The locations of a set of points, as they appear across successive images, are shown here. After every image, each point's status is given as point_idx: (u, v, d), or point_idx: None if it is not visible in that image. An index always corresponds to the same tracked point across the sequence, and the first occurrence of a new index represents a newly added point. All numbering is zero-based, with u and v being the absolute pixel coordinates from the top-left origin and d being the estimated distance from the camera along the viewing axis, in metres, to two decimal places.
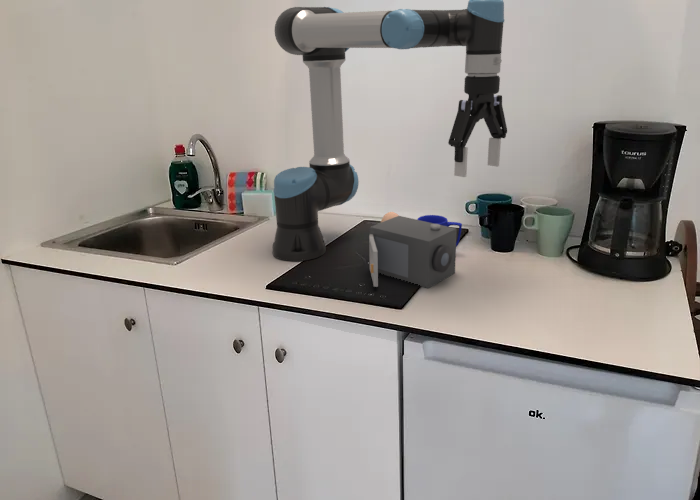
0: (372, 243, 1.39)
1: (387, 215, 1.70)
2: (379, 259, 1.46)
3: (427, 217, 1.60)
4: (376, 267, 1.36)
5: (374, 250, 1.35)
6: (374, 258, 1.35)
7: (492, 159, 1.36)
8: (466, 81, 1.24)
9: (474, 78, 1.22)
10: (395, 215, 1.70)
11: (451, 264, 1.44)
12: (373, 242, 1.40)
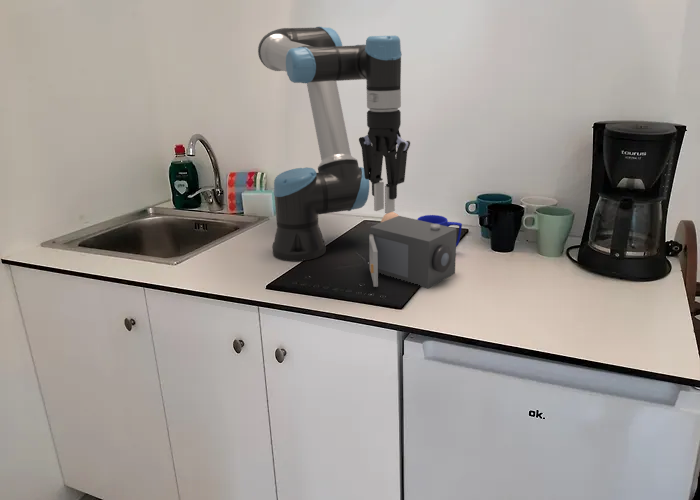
0: (372, 243, 1.39)
1: (387, 215, 1.70)
2: (379, 259, 1.46)
3: (427, 217, 1.60)
4: (376, 267, 1.36)
5: (374, 250, 1.35)
6: (374, 258, 1.35)
7: None
8: None
9: None
10: (395, 215, 1.70)
11: (451, 264, 1.44)
12: (373, 242, 1.40)
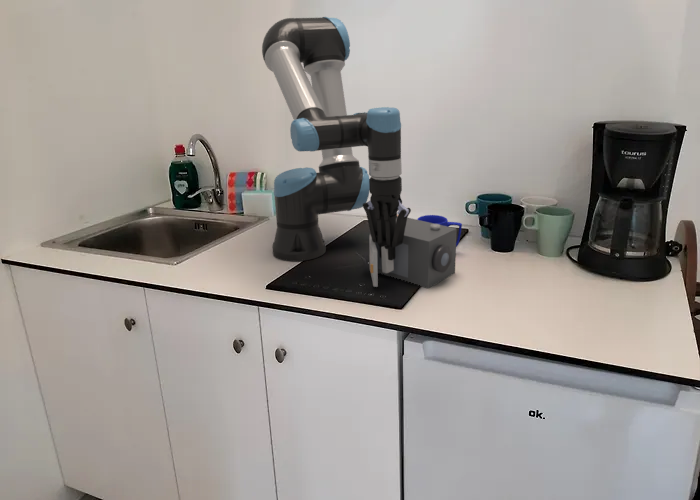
0: (372, 243, 1.39)
1: None
2: (379, 259, 1.46)
3: (427, 217, 1.60)
4: (376, 267, 1.36)
5: (374, 250, 1.35)
6: (374, 258, 1.35)
7: None
8: None
9: None
10: None
11: (451, 264, 1.44)
12: (373, 242, 1.40)
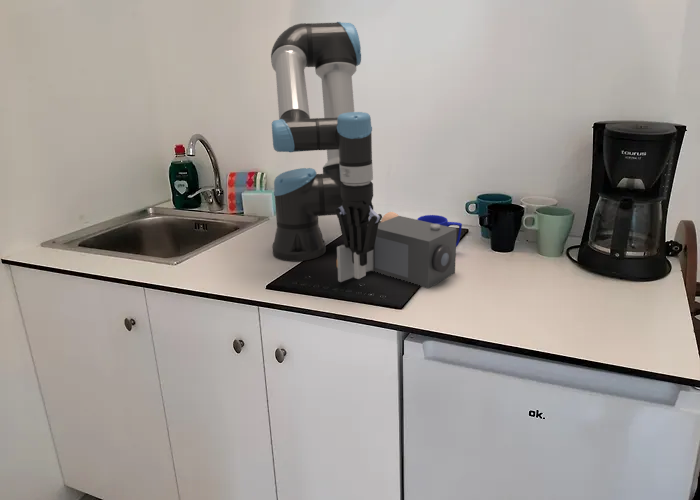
0: None
1: (387, 215, 1.70)
2: (379, 259, 1.46)
3: (427, 217, 1.60)
4: (339, 263, 1.39)
5: (340, 246, 1.38)
6: (337, 253, 1.38)
7: None
8: None
9: None
10: (395, 215, 1.70)
11: (451, 264, 1.44)
12: None
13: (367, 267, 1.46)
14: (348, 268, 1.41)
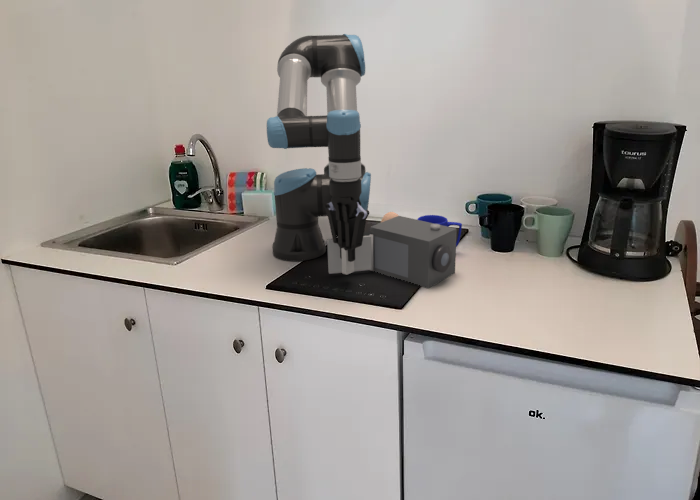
0: None
1: (387, 215, 1.70)
2: (379, 259, 1.46)
3: (427, 217, 1.60)
4: (328, 255, 1.44)
5: (330, 239, 1.43)
6: (327, 246, 1.44)
7: None
8: None
9: None
10: (395, 215, 1.70)
11: (451, 264, 1.44)
12: None
13: (364, 266, 1.47)
14: (339, 262, 1.45)
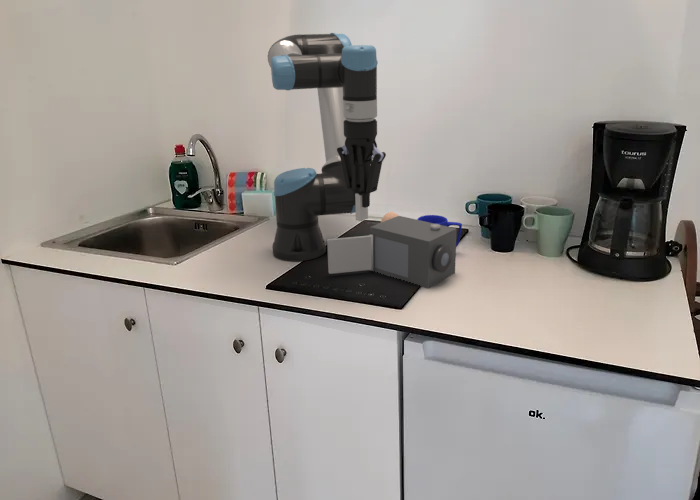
0: (349, 237, 1.44)
1: (387, 215, 1.70)
2: (379, 259, 1.46)
3: (427, 217, 1.60)
4: (328, 255, 1.44)
5: (330, 239, 1.43)
6: (327, 246, 1.44)
7: None
8: None
9: None
10: (395, 215, 1.70)
11: (451, 264, 1.44)
12: (352, 237, 1.44)
13: (364, 266, 1.47)
14: (339, 262, 1.45)
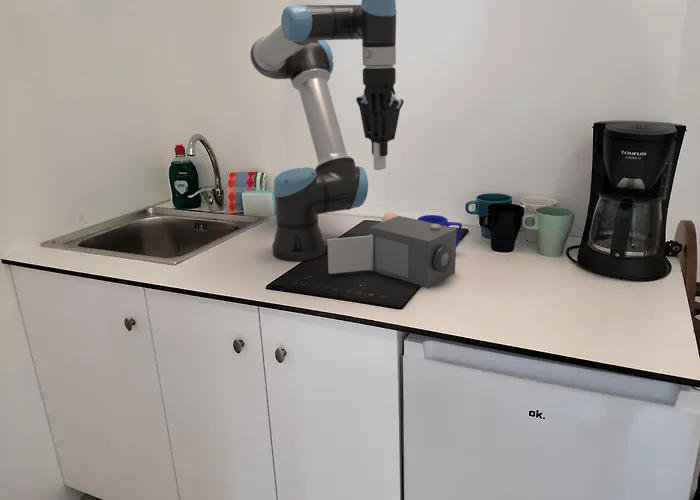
0: (349, 237, 1.44)
1: (387, 215, 1.70)
2: (379, 259, 1.46)
3: (427, 217, 1.60)
4: (328, 255, 1.44)
5: (330, 239, 1.43)
6: (327, 246, 1.44)
7: None
8: None
9: None
10: (395, 215, 1.70)
11: (451, 264, 1.44)
12: (352, 237, 1.44)
13: (364, 266, 1.47)
14: (339, 262, 1.45)
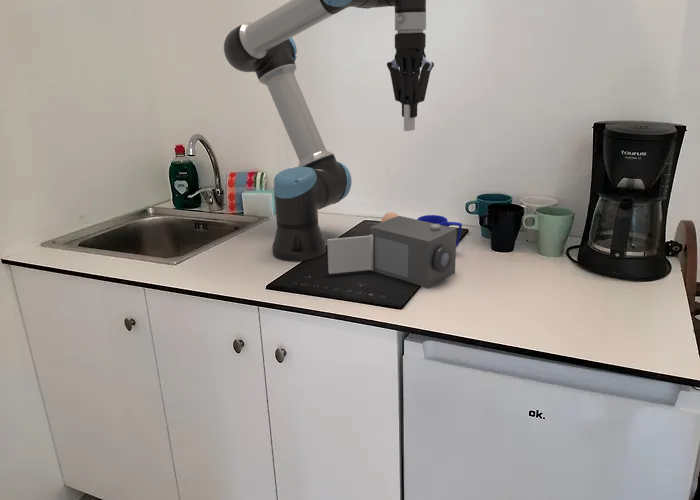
0: (349, 237, 1.44)
1: (387, 215, 1.70)
2: (379, 259, 1.46)
3: (427, 217, 1.60)
4: (328, 255, 1.44)
5: (330, 239, 1.43)
6: (327, 246, 1.44)
7: None
8: None
9: None
10: (395, 215, 1.70)
11: (451, 264, 1.44)
12: (352, 237, 1.44)
13: (364, 266, 1.47)
14: (339, 262, 1.45)
